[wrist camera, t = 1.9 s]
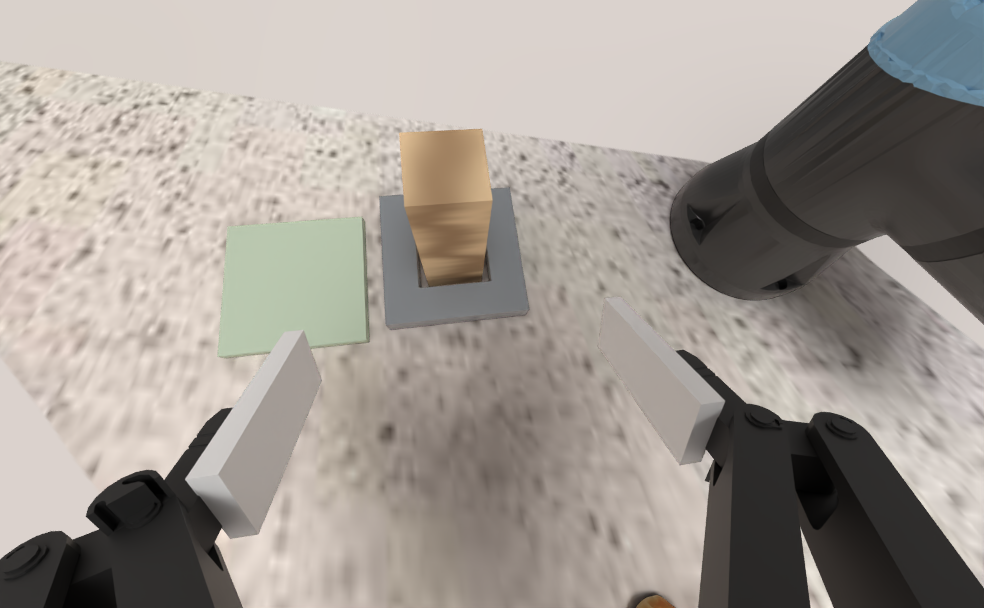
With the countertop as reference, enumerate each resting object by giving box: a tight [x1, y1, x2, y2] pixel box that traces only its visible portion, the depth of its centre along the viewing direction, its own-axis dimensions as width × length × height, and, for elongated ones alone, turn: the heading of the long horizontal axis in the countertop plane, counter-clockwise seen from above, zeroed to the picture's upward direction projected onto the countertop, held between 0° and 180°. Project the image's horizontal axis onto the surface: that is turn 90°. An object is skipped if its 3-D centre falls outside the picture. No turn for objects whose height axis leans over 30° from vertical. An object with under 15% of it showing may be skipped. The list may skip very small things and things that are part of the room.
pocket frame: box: [379, 187, 529, 330], centre depth 33 cm, size 12×12×2 cm
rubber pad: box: [217, 217, 369, 358], centre depth 32 cm, size 12×12×1 cm
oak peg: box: [399, 129, 493, 287], centre depth 27 cm, size 5×5×14 cm
